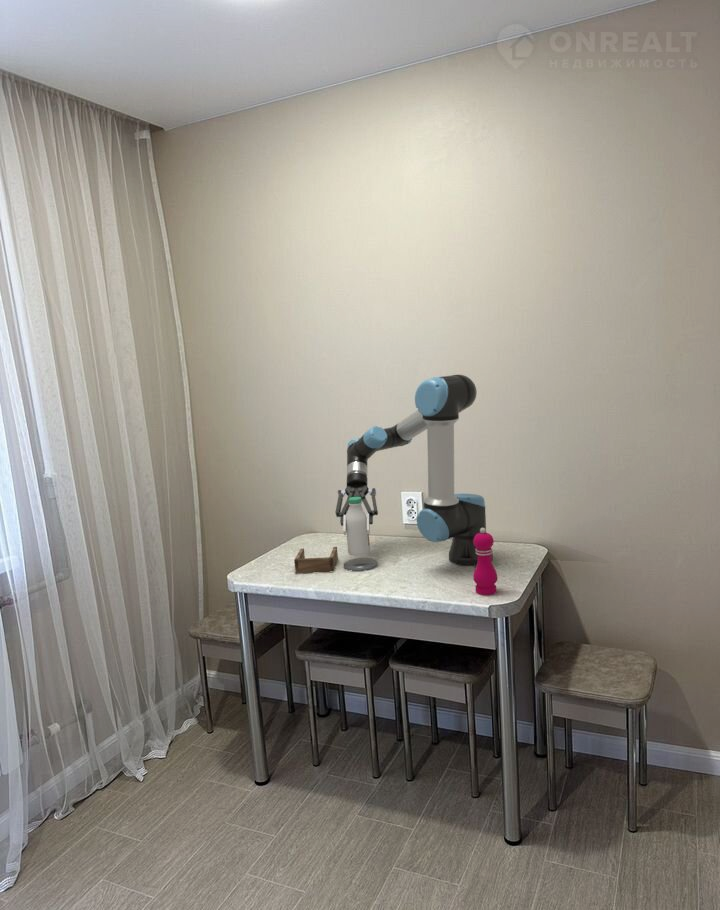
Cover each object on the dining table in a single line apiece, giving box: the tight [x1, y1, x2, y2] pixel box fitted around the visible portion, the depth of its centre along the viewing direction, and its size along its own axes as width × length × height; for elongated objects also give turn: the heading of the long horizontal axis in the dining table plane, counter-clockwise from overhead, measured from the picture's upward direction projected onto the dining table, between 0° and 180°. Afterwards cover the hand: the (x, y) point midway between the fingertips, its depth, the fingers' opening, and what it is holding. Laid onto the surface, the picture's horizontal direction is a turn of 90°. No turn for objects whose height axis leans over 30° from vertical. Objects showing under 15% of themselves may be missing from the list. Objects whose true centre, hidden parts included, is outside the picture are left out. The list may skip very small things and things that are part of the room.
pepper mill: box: [473, 528, 498, 596], centre depth 212 cm, size 7×7×20 cm
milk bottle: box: [346, 497, 371, 557], centre depth 246 cm, size 8×8×20 cm
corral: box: [293, 546, 339, 574], centre depth 250 cm, size 13×13×5 cm
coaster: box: [343, 557, 379, 572], centre depth 248 cm, size 12×12×1 cm
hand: (356, 532), depth 243 cm, fingers closed on milk bottle, 7 cm apart
